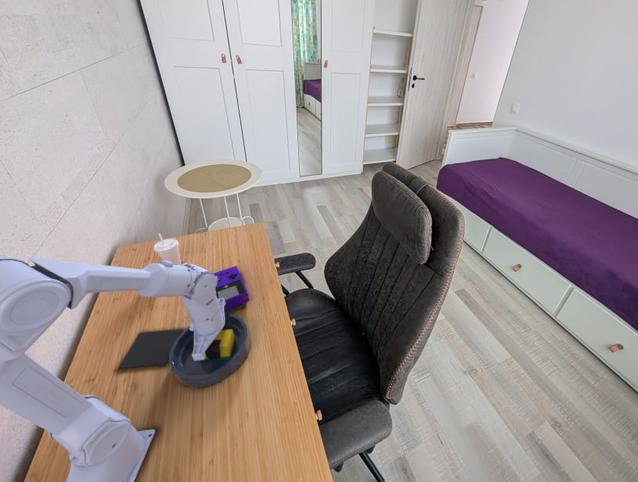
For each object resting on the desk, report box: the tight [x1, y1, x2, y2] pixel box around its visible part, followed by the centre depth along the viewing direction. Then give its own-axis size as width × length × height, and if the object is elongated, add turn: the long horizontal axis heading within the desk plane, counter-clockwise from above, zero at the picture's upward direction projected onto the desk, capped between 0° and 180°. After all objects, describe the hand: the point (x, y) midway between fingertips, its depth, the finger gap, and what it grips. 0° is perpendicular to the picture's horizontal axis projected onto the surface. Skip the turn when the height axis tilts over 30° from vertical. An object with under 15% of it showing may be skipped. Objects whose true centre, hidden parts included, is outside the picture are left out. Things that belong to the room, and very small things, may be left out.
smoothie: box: [153, 232, 182, 265], centre depth 89 cm, size 6×6×14 cm
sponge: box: [199, 329, 236, 361], centre depth 68 cm, size 4×7×5 cm, turn 98°
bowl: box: [168, 313, 251, 389], centre depth 68 cm, size 16×16×4 cm
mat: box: [118, 328, 184, 370], centre depth 69 cm, size 9×10×1 cm
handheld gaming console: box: [212, 265, 250, 314], centre depth 84 cm, size 9×5×15 cm
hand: (218, 348), depth 69 cm, fingers closed on sponge, 4 cm apart
